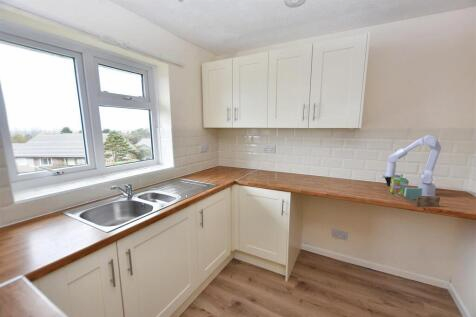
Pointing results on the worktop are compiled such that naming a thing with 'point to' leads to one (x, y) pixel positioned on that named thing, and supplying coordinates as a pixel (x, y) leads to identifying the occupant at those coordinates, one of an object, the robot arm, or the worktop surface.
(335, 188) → the worktop surface
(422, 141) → the robot arm
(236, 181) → the worktop surface
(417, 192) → the follower
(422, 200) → the lane
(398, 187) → the chalk box
